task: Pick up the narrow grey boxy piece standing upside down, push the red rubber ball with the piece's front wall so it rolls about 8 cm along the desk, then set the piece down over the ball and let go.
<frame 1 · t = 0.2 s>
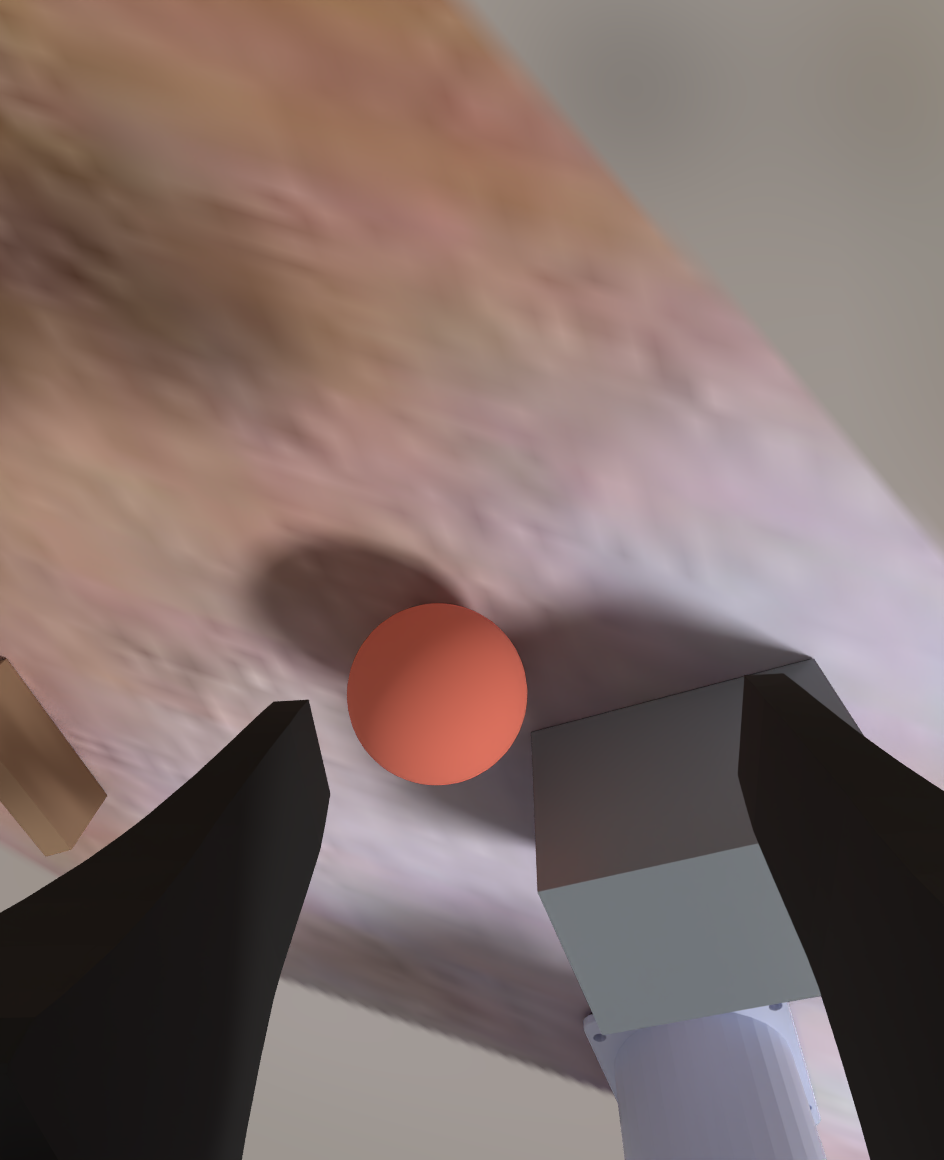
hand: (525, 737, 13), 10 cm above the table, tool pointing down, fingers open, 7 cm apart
stopper: (46, 734, 26), on the table
ball: (437, 692, 22), on the table
grey boxy piece: (689, 767, 26), on the table
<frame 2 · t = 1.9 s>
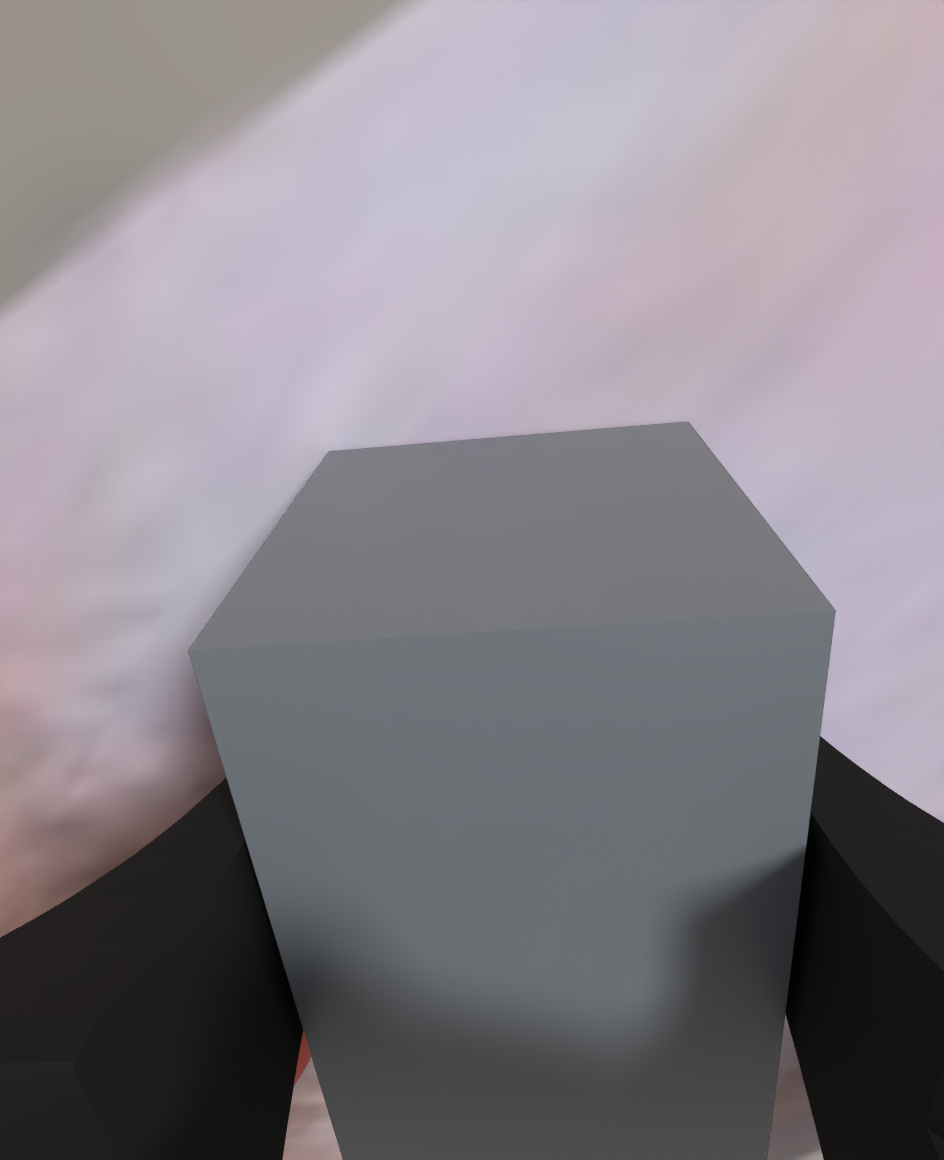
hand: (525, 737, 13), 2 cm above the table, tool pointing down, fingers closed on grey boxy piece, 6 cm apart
ball: (203, 998, 16), on the table
grey boxy piece: (523, 665, 15), on the table, touching gripper
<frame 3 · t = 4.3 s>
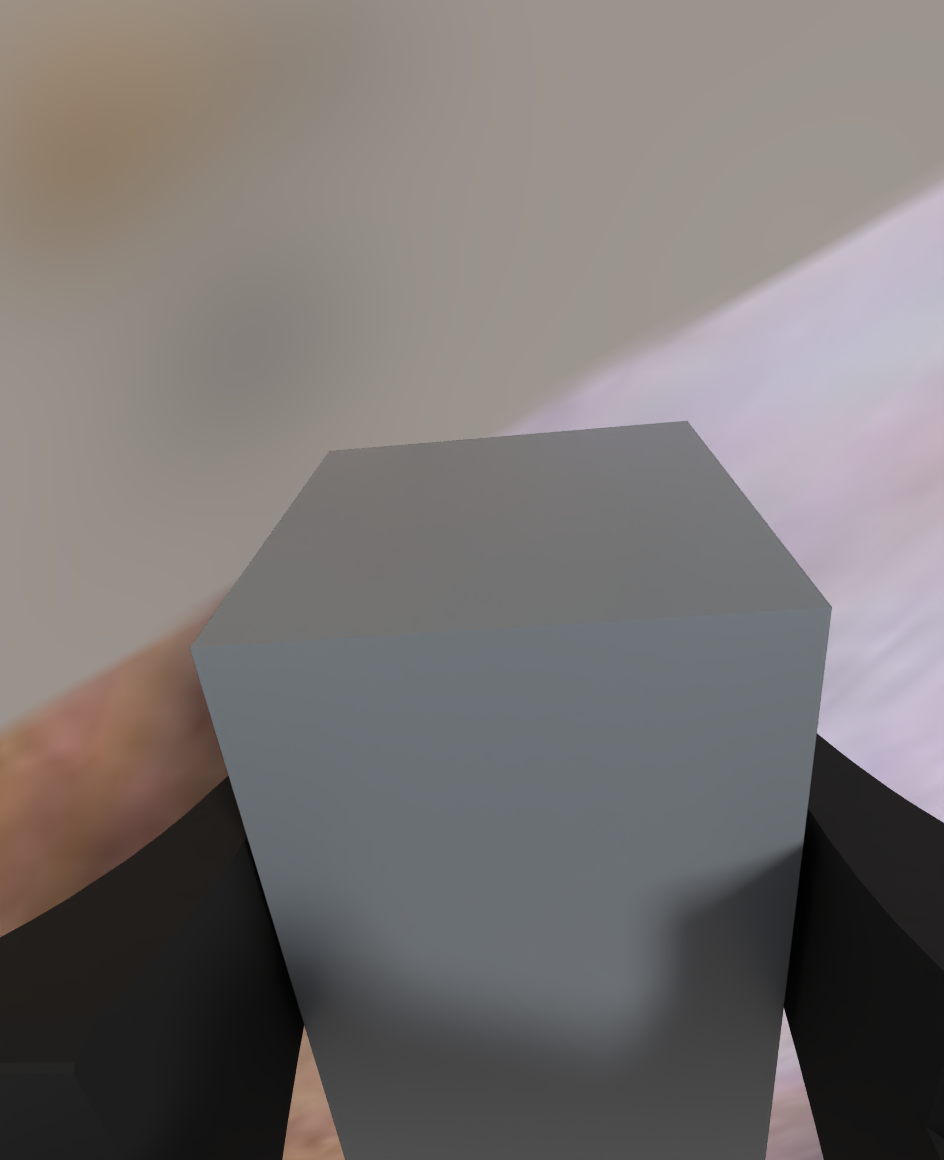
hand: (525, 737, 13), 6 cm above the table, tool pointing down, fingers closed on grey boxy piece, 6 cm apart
grey boxy piece: (523, 663, 15), point 4 cm above the table, touching gripper
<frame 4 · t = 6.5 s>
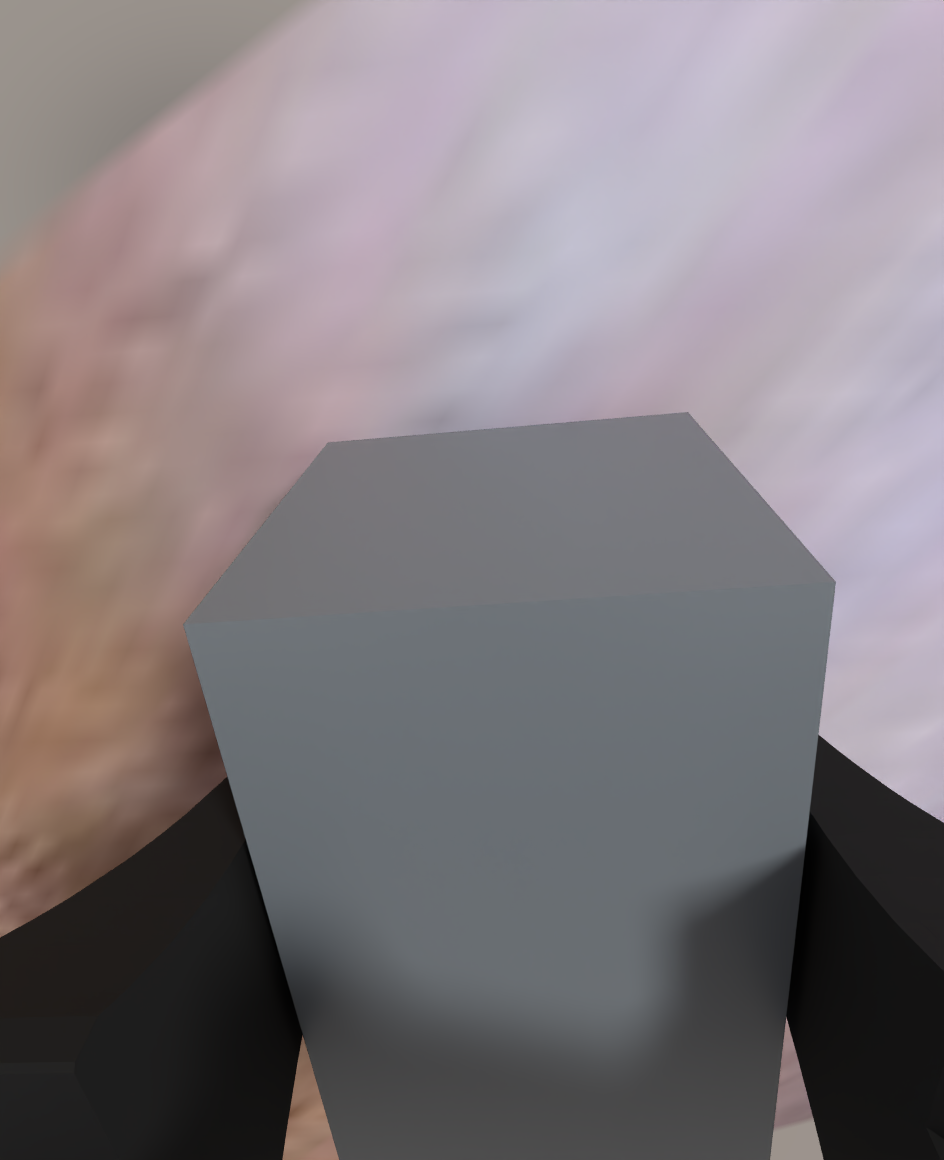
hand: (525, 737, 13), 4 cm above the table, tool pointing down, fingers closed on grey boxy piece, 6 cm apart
grey boxy piece: (523, 659, 15), point 2 cm above the table, touching gripper
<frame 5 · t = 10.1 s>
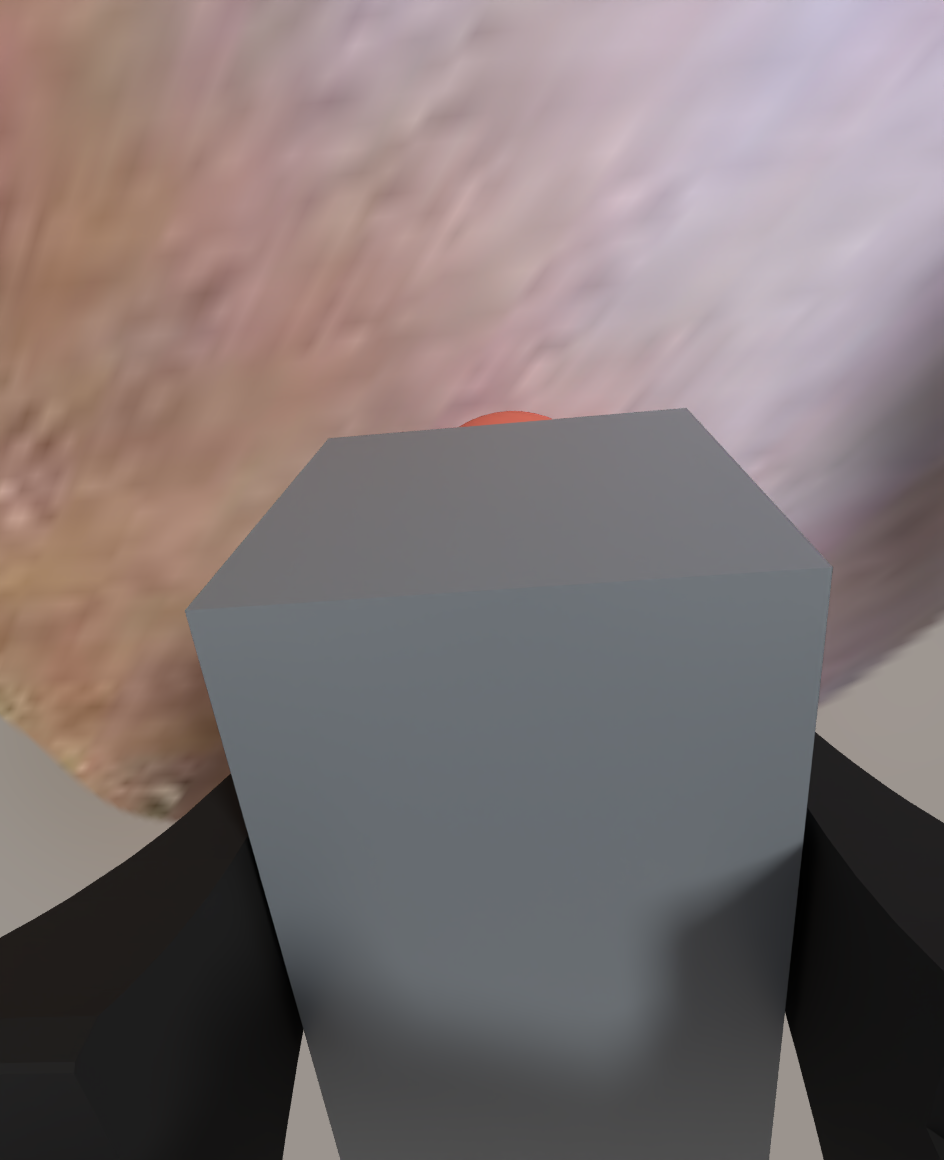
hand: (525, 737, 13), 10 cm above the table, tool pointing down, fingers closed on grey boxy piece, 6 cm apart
ball: (512, 513, 19), on the table
grey boxy piece: (522, 655, 15), point 8 cm above the table, touching gripper
when the fingers open (3 cm above the table, at t = 13.5 s): grey boxy piece stays where it is, on the table.
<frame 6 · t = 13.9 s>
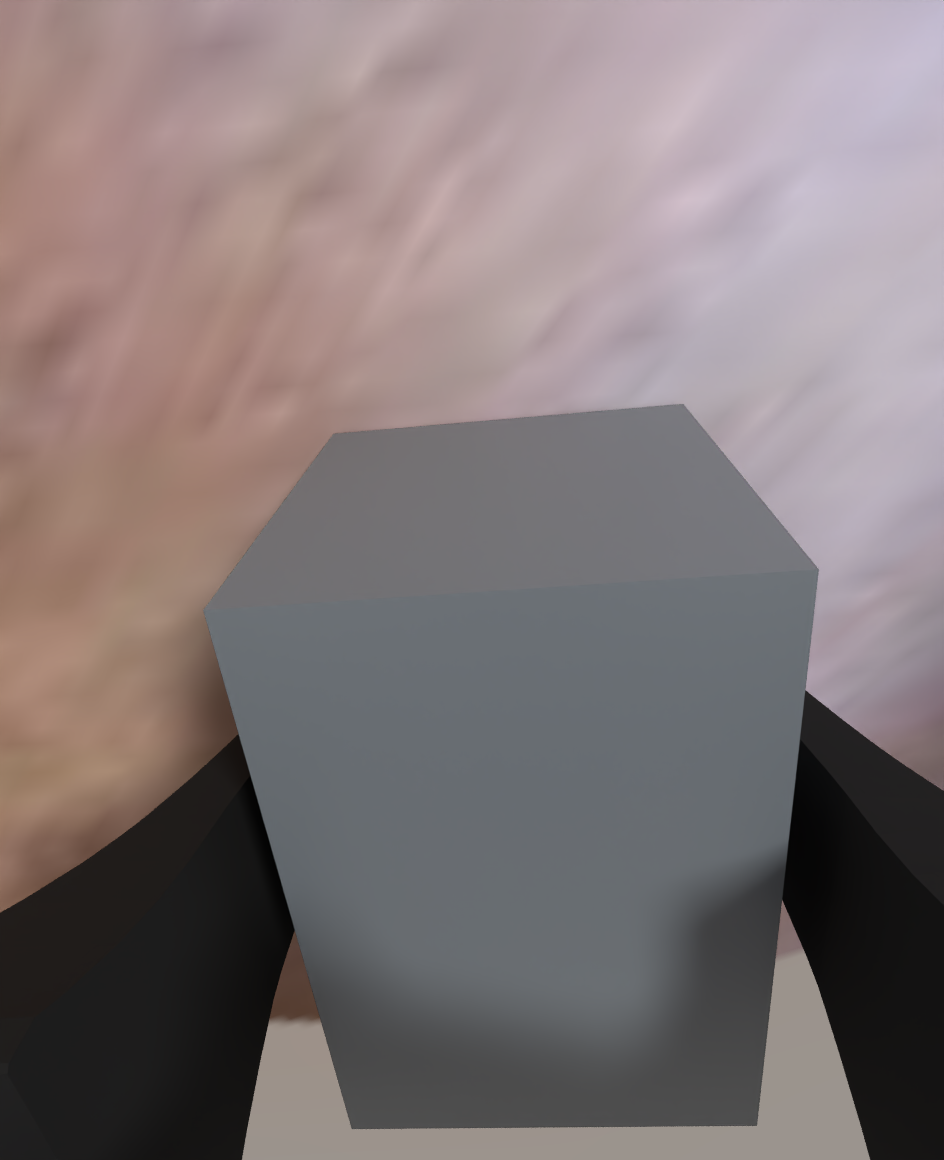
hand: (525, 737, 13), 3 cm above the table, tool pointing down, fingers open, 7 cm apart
grey boxy piece: (523, 644, 15), on the table
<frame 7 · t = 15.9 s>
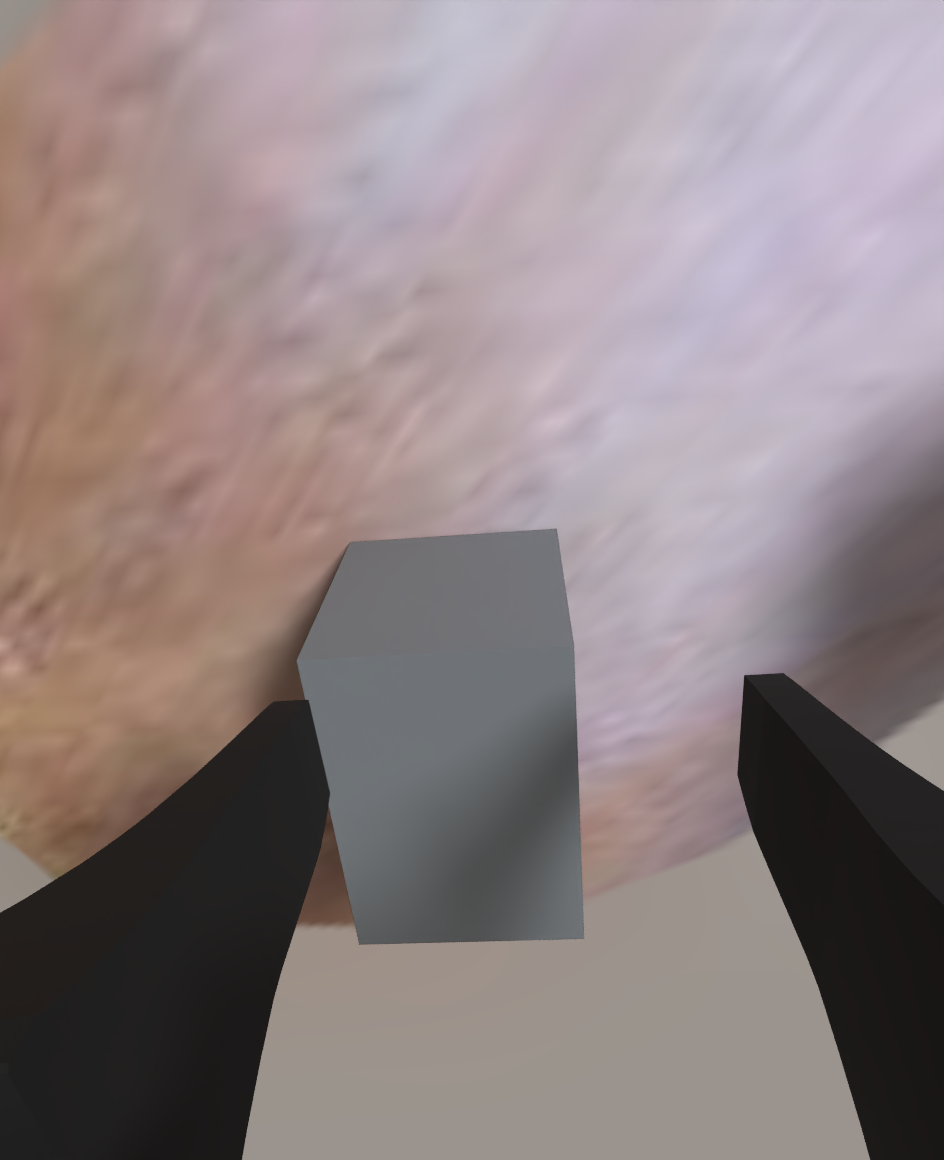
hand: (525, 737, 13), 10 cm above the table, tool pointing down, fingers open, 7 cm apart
grey boxy piece: (466, 667, 24), on the table
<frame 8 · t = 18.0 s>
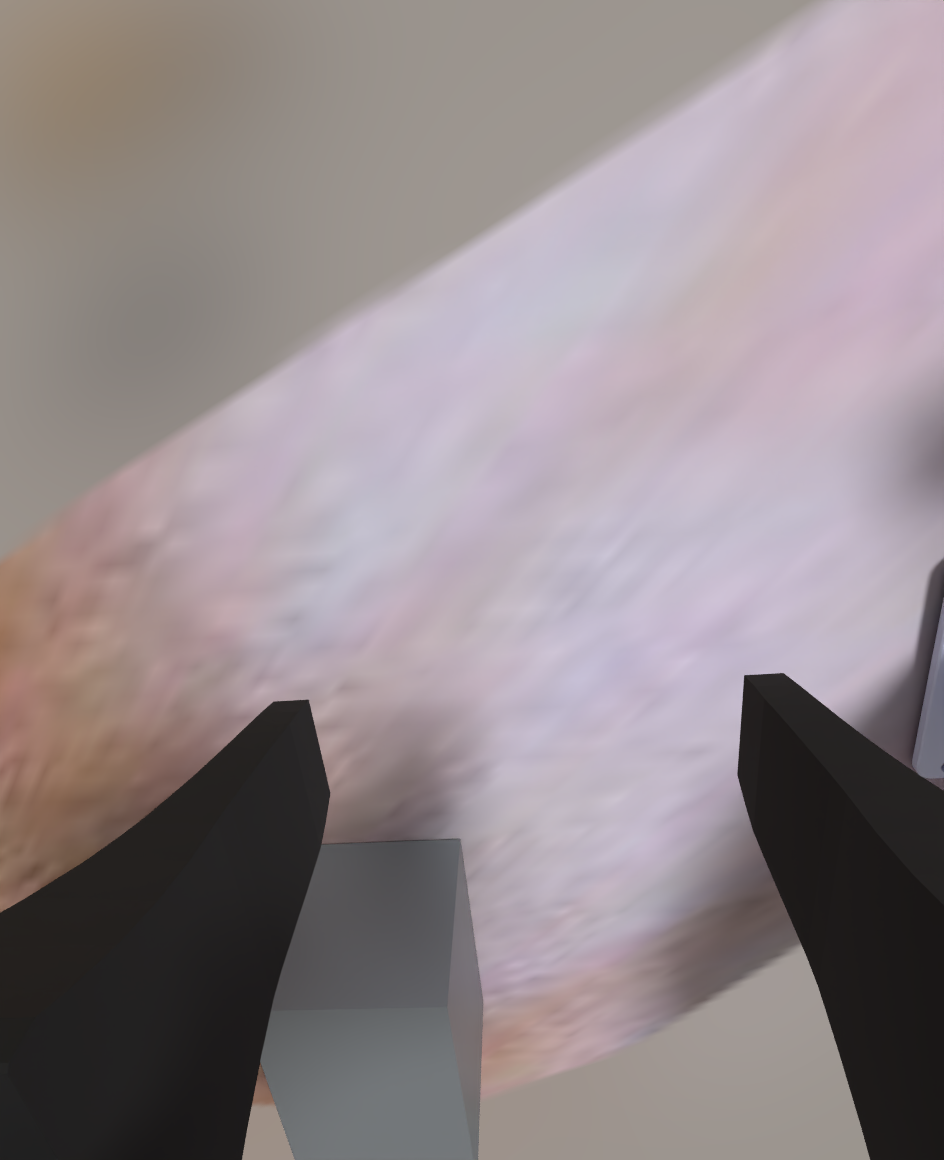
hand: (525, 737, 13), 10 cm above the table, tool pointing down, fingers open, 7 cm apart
grey boxy piece: (395, 928, 30), on the table
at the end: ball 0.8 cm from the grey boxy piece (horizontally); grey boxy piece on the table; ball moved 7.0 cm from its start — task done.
